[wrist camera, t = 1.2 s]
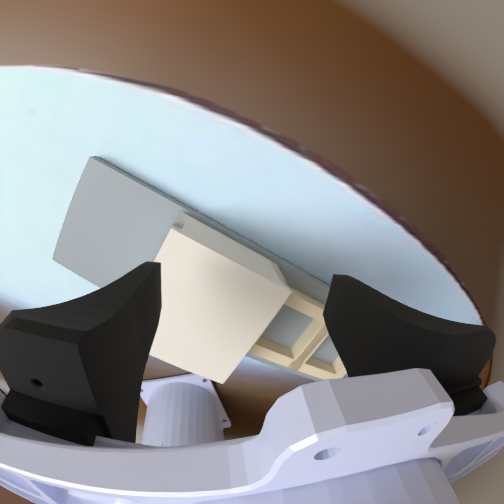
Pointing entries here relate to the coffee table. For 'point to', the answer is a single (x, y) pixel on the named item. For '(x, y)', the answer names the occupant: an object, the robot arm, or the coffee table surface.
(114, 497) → the robot arm
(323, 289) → the board
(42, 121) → the coffee table surface
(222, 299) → the block
